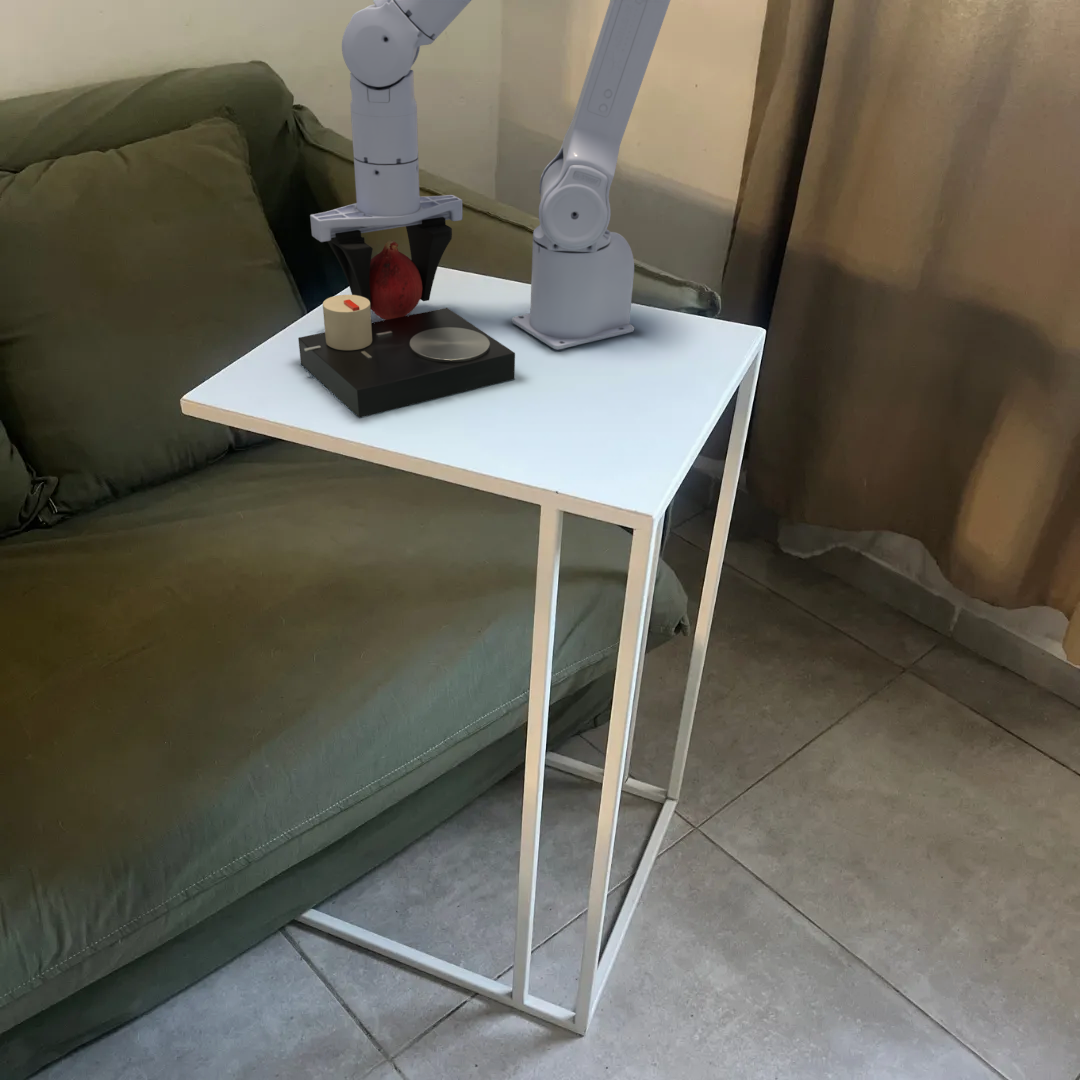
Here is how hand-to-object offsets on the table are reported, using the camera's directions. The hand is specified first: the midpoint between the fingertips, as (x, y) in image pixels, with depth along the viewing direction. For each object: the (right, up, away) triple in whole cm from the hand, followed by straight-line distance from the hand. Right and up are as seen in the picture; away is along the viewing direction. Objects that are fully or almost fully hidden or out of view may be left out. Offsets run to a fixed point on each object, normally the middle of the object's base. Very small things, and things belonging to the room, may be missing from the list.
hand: (392, 303), depth 98 cm
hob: (+2, -8, -8) cm, 11 cm away
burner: (+6, -6, -9) cm, 13 cm away
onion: (0, -2, +1) cm, 2 cm away
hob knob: (-2, -5, -9) cm, 11 cm away
